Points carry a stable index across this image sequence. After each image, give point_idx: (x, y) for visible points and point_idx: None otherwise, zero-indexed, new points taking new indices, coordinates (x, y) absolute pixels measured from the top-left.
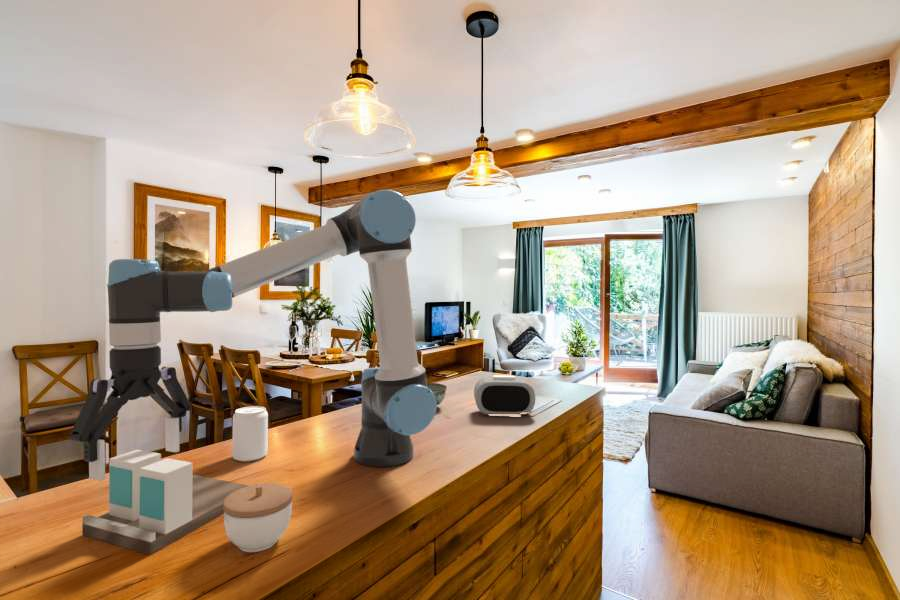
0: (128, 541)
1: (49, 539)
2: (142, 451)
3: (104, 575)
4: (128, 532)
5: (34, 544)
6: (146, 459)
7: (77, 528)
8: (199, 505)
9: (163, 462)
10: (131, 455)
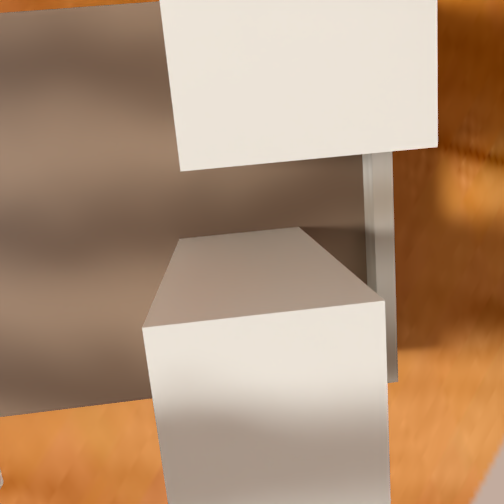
0: None
1: (425, 410)
2: (189, 499)
3: (493, 28)
4: None
5: (458, 415)
6: (276, 310)
7: None
8: (74, 104)
9: (264, 94)
10: (282, 482)
